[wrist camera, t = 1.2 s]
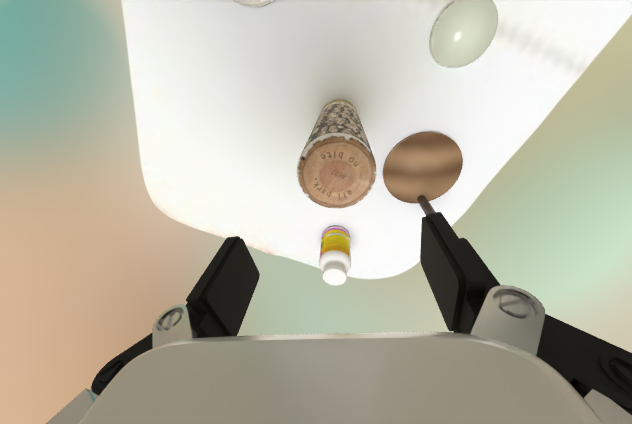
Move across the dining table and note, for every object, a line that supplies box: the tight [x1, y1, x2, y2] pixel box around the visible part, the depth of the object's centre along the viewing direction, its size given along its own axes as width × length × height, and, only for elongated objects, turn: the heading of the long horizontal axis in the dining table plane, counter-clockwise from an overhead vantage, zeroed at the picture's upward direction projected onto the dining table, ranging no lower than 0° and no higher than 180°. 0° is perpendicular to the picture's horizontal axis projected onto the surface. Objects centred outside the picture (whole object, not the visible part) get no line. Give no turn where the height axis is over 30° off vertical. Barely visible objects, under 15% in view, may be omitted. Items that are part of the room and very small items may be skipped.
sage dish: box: [430, 0, 498, 68], centre depth 32 cm, size 8×8×2 cm
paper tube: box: [297, 100, 376, 208], centre depth 30 cm, size 7×7×25 cm
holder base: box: [383, 132, 463, 215], centre depth 37 cm, size 14×14×17 cm
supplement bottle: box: [319, 226, 351, 285], centre depth 49 cm, size 7×7×13 cm
